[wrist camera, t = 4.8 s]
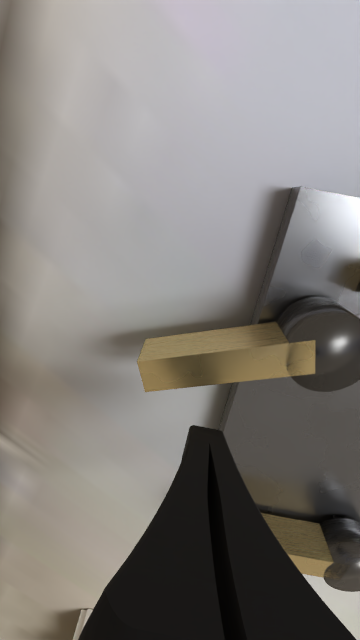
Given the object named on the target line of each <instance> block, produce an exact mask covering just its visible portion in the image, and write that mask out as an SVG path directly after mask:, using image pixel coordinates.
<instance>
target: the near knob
mask: <svg viewBox="0 0 360 640" xmlns="http://www.w3.org/2000/svg"><path fill="white" fill-rule="evenodd" d="M137 363H138V367H139V371H140V374H141V378H142V382H143V386H144V389H145V392H149V391H159V390H168V389H177V388H187V387H196V386H205V385H215V384H224V383H233V382H243V381H252V380H261V379H271V378H280V377H289V376H291V378H292V379H293V380H294V381H295V382H296V383H297V384H299V385H300V386H302V387H304V388H306V389H309V390H312V391H318V392H331V391H337V390H340V389H343V388H346V387H348V386H351V385H353V384H354V383H356V382H357V381H359V380H360V318H359V317H357V316H356V315H355V314H353V313H352V312H350V311H349V310H348V309H346V308H345V307H344V306H342V305H341V304H340V303H338V302H337V301H335V300H332V299H330V298H326V297H309V298H305V299H302V300H299V301H297V302H295V303H293V304H291V305H290V306H289V307H287V308H286V309H285V310H284V311H283V312H282V313H281V315H280V316H279V317H278V319H277V321H276V322H271V323H263V324H255V325H248V326H240V327H233V328H225V329H217V330H210V331H202V332H195V333H187V334H179V335H172V336H164V337H157V338H149V339H146V340H145V343H144V345H143V348H142V350H141V353H140V356H139V358H138V361H137Z"/></svg>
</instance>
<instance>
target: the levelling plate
mask: <svg viewBox="0 0 360 640" xmlns="http://www.w3.org/2000/svg"><path fill="white" fill-rule="evenodd" d="M309 297H326V298H330V299H332V300H335V301H337V302H338V303H340V304H341V305H342V306H344V307H345V308H346V309H348V310H349V311H350V312H352V313H353V314H355V315H356V316H357V317H359V318H360V198H357V197H352V196H347V195H342V194H337V193H332V192H326V191H321V190H316V189H311V188H306V187H294V188H292V190H291V194H290V197H289V200H288V204H287V207H286V210H285V213H284V217H283V220H282V223H281V226H280V230H279V233H278V236H277V240H276V243H275V246H274V249H273V253H272V256H271V259H270V262H269V266H268V269H267V272H266V276H265V279H264V282H263V285H262V289H261V292H260V295H259V298H258V302H257V305H256V308H255V312H254V315H253V318H252V321H251V325H255V324H263V323H271V322H276V321H277V319H278V317H279V316H280V315H281V313H282V312H283V311H284V310H285V309H286V308H287V307H289V306H290V305H291V304H293V303H295V302H297V301H299V300H302V299H305V298H309ZM218 430H220V431H222V432H223V433H224V436H225V439H226V441H227V444H228V447H229V449H230V452H231V454H232V456H233V459H234V461H235V463H236V466H237V468H238V470H239V472H240V474H241V476H242V478H243V481H244V483H245V485H246V487H247V489H248V491H249V493H250V494H251V496H252V498H253V500H254V502H255V504H256V505H257V507H258V509H259V511H260V513H263V514H269V515H274V516H280V517H285V518H291V519H296V520H301V521H307V522H312V523H318V524H320V523H322V522H324V521H327V520H330V519H335V518H348V519H353V520H356V521H358V522H360V380H359V381H357V382H356V383H354V384H353V385H351V386H348V387H346V388H343V389H340V390H337V391H331V392H318V391H312V390H309V389H306V388H304V387H302V386H300V385H299V384H297V383H296V382H295V381H294V380H293V379H292V378H291V376H289V377H280V378H271V379H261V380H252V381H243V382H233V384H232V387H231V390H230V393H229V397H228V400H227V403H226V407H225V410H224V413H223V416H222V420H221V423H220V426H219V429H218Z"/></svg>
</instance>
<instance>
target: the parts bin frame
mask: <svg viewBox="0 0 360 640" xmlns="http://www.w3.org/2000/svg"><path fill="white" fill-rule="evenodd" d="M92 611H93V610H92V609H88V610H83V609H82V610H81V613H80V617H79V620H78V623H77V627H76V630H75V634H74V637H73V640H78V639H79V636H80V634H81V632H82V630H83V628H84V626H85V624H86V622H87V620H88V618H89V616H90V614H91V613H92Z"/></svg>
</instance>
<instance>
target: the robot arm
mask: <svg viewBox="0 0 360 640" xmlns="http://www.w3.org/2000/svg"><path fill="white" fill-rule="evenodd" d="M78 640H356V639H355V637H354V636H353V635H352V634H351V633H350V632H349V631H348V629H347V628H346V627H345V626H344V625H343V624H342V623H341V621H340V620H339V619H338V618H337V617H336V616H335V614H334V613H333V612H332V611H331V610H330V609H329V608H328V606H327V605H326V604H325V603H324V602H323V601H322V599H321V598H320V597H319V596H318V594H317V593H316V592H315V591H314V589H313V588H312V587H311V585H310V584H309V583H308V582H307V580H306V579H305V578H304V576H303V575H302V574H301V572H300V571H299V569H298V568H297V567H296V565H295V564H294V563H293V561H292V560H291V558H290V557H289V556H288V554H287V553H286V552H285V550H284V549H283V547H282V546H281V544H280V543H279V541H278V540H277V538H276V537H275V535H274V534H273V532H272V531H271V529H270V527H269V526H268V524H267V523H266V521H265V519H264V518H263V516H262V514H261V513H260V511H259V509H258V507H257V505H256V504H255V502H254V500H253V498H252V496H251V494H250V493H249V491H248V489H247V487H246V485H245V483H244V481H243V478H242V476H241V474H240V472H239V470H238V468H237V466H236V463H235V461H234V459H233V456H232V454H231V452H230V449H229V447H228V444H227V441H226V439H225V436H224V433H223V432H222V431H220V430H215V429H210V428H205V427H200V426H194V425H193V426H191V427H190V428H189V432H188V436H187V440H186V444H185V448H184V452H183V456H182V462H181V464H180V467H179V469H178V471H177V474H176V476H175V478H174V480H173V482H172V485H171V487H170V489H169V491H168V493H167V495H166V497H165V499H164V500H163V502H162V504H161V506H160V508H159V509H158V511H157V513H156V515H155V516H154V518H153V520H152V521H151V523H150V525H149V526H148V528H147V529H146V531H145V533H144V534H143V536H142V537H141V539H140V540H139V542H138V543H137V545H136V546H135V548H134V549H133V551H132V552H131V554H130V555H129V556H128V558H127V559H126V561H125V562H124V563H123V565H122V566H121V567H120V569H119V570H118V571H117V573H116V574H115V575H114V577H113V578H112V579H111V581H110V582H109V583H108V585H107V586H106V587H105V589H104V591H103V593H102V595H101V597H100V599H99V600H98V602H97V604H96V606H95V607H94V609H93V611H92V613H91V614H90V616H89V618H88V620H87V622H86V624H85V626H84V628H83V630H82V632H81V634H80V636H79V639H78Z"/></svg>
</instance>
